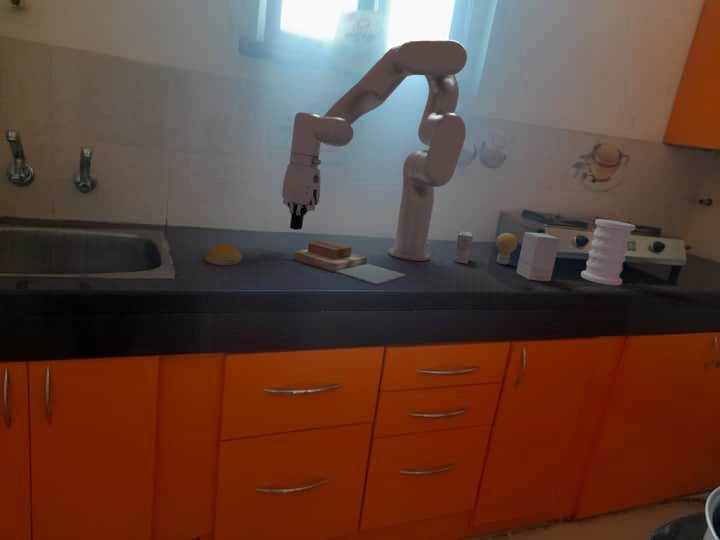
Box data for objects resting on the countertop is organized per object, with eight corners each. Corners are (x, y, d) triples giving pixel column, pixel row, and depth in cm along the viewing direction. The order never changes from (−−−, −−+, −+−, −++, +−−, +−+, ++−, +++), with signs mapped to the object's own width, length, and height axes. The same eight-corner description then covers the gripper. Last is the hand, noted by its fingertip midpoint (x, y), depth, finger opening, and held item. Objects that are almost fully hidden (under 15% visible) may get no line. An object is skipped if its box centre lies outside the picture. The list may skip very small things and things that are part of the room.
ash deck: (325, 253, 142) (326, 246, 142) (366, 264, 135) (366, 257, 134) (292, 258, 131) (293, 251, 130) (334, 271, 124) (335, 264, 123)
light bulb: (499, 260, 163) (506, 230, 160) (516, 265, 158) (523, 235, 156) (488, 261, 159) (494, 231, 156) (505, 267, 154) (511, 235, 152)
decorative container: (609, 277, 160) (624, 221, 155) (628, 287, 149) (644, 228, 144) (574, 272, 159) (587, 217, 155) (590, 282, 148) (605, 223, 144)
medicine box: (468, 264, 152) (473, 236, 149) (453, 262, 152) (458, 234, 150) (467, 259, 159) (472, 232, 157) (453, 256, 160) (458, 230, 158)
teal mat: (367, 265, 135) (367, 263, 135) (405, 276, 128) (406, 274, 128) (336, 272, 123) (336, 270, 123) (376, 284, 117) (376, 283, 117)
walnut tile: (324, 249, 138) (325, 240, 137) (350, 256, 133) (351, 247, 133) (307, 251, 132) (308, 242, 132) (334, 259, 127) (335, 250, 127)
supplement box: (551, 281, 143) (561, 238, 140) (528, 280, 141) (537, 236, 138) (537, 274, 150) (546, 233, 147) (515, 272, 148) (524, 231, 145)
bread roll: (201, 264, 116) (202, 247, 115) (211, 255, 125) (212, 240, 124) (237, 268, 117) (238, 251, 116) (244, 259, 125) (245, 243, 124)
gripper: (334, 166, 132) (325, 234, 137) (292, 158, 140) (285, 222, 144) (316, 164, 126) (307, 235, 130) (273, 156, 134) (266, 223, 138)
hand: (295, 228), depth 137 cm, fingers closed
